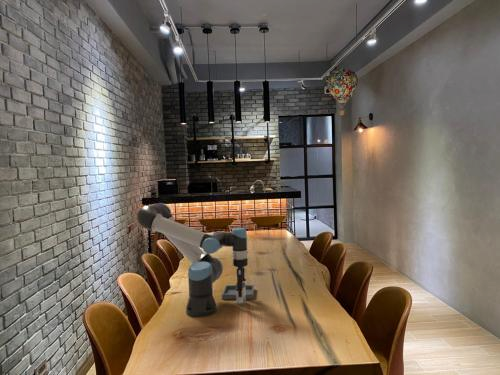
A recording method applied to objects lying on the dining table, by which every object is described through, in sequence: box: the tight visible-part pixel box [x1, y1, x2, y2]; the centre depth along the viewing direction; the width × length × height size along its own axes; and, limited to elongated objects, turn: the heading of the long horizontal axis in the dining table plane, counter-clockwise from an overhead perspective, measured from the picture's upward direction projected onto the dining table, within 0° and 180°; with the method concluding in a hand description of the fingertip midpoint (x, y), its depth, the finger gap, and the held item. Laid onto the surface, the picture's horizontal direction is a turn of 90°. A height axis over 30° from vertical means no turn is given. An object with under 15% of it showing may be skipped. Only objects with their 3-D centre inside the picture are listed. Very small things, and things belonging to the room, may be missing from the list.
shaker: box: [235, 282, 247, 306], centre depth 193 cm, size 5×5×10 cm
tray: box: [221, 284, 255, 300], centre depth 207 cm, size 17×16×3 cm
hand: (241, 298), depth 193 cm, fingers open, 13 cm apart
